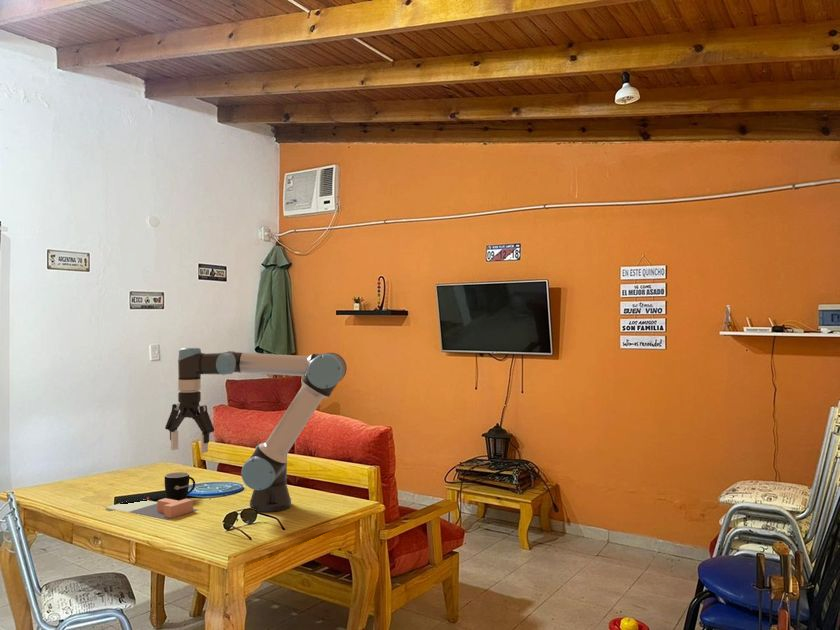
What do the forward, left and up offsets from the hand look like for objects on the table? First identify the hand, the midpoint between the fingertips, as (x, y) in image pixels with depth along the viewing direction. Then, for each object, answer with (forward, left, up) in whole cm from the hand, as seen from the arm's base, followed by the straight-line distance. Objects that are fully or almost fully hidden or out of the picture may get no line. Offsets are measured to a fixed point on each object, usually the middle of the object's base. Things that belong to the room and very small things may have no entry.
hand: (189, 451), depth 229 cm
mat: (+17, +2, -23) cm, 28 cm away
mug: (+19, -13, -23) cm, 33 cm away
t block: (+7, +2, -22) cm, 23 cm away
